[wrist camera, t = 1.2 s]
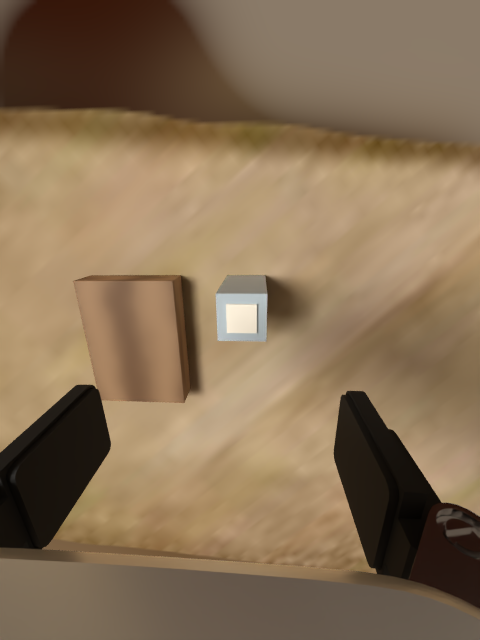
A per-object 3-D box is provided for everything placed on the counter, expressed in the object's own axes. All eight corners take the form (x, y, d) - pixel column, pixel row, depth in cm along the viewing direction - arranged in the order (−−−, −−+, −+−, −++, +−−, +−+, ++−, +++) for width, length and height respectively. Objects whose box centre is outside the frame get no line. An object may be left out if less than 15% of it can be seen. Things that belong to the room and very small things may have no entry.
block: (265, 275, 28) (267, 294, 21) (264, 311, 30) (266, 342, 22) (227, 275, 29) (215, 294, 21) (228, 311, 30) (217, 341, 22)
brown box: (180, 275, 29) (172, 281, 26) (190, 387, 34) (184, 402, 31) (90, 275, 30) (73, 281, 27) (112, 385, 34) (99, 400, 31)
